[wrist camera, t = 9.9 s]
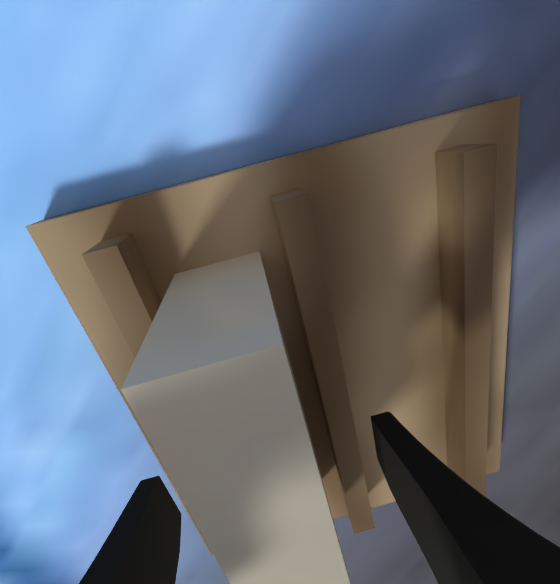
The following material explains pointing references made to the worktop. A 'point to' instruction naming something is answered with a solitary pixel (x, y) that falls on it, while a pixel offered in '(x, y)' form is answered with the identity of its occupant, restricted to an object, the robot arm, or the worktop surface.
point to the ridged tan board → (337, 283)
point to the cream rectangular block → (235, 427)
